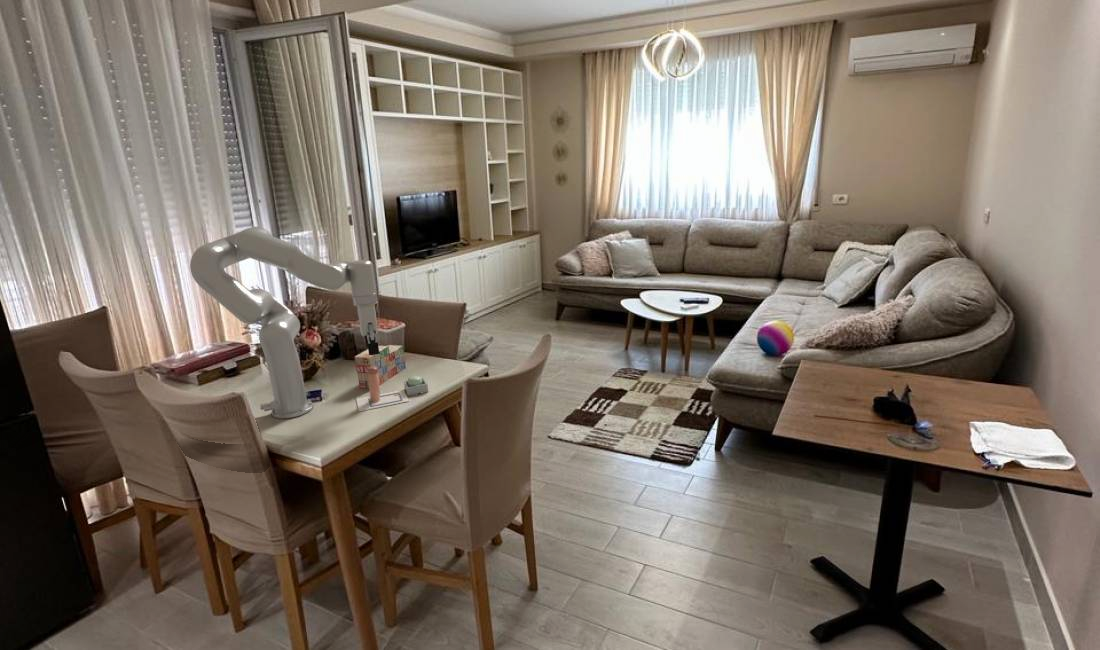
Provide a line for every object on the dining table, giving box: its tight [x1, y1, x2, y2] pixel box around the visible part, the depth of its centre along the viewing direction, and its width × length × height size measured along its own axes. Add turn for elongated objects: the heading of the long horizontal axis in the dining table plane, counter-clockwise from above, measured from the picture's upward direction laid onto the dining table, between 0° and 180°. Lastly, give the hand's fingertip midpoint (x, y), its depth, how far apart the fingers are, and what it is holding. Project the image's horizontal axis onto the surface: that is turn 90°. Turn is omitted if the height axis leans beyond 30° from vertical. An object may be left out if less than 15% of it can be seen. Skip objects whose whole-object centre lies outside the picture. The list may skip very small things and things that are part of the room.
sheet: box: [355, 389, 410, 412], centre depth 194 cm, size 16×11×1 cm
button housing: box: [403, 377, 429, 397], centre depth 200 cm, size 7×7×3 cm
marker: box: [367, 366, 381, 402], centre depth 192 cm, size 3×3×12 cm
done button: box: [407, 375, 423, 387], centre depth 200 cm, size 5×5×3 cm
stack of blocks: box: [354, 344, 406, 390], centre depth 213 cm, size 21×6×12 cm, turn 162°
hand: (372, 350), depth 189 cm, fingers open, 8 cm apart
